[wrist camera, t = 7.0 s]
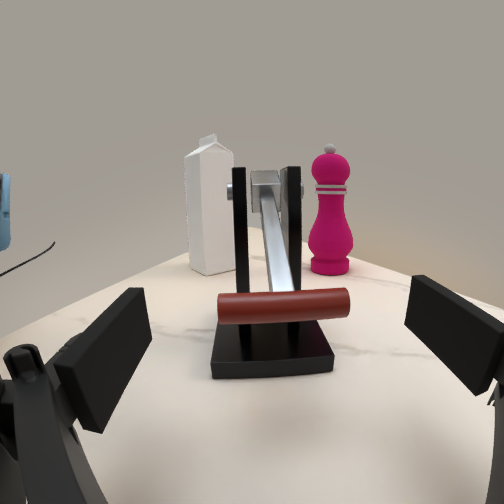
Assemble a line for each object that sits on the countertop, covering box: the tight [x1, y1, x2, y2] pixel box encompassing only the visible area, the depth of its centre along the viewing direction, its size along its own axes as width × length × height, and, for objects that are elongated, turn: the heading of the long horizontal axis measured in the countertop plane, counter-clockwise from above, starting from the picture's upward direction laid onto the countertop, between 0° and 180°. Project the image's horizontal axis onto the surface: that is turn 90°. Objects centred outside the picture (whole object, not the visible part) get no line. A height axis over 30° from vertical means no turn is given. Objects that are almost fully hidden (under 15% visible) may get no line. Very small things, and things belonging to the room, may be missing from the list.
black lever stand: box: [211, 166, 335, 379], centre depth 24 cm, size 12×9×15 cm
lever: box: [217, 170, 350, 325], centre depth 18 cm, size 14×6×2 cm, turn 1°
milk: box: [184, 133, 236, 276], centre depth 46 cm, size 6×6×22 cm
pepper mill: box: [308, 144, 353, 275], centre depth 43 cm, size 7×7×20 cm
